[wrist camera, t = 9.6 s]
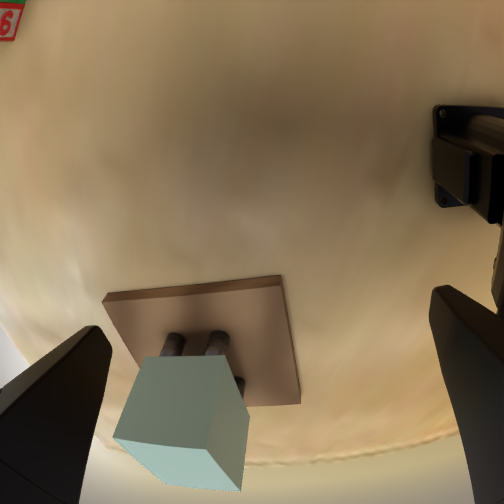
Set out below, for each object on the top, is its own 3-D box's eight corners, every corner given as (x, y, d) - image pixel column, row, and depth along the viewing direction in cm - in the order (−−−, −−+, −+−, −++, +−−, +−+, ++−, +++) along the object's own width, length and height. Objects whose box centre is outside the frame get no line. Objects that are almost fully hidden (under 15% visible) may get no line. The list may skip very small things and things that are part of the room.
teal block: (224, 354, 20) (205, 449, 14) (249, 416, 24) (240, 491, 18) (145, 356, 21) (112, 437, 15) (183, 415, 25) (165, 483, 19)
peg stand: (280, 275, 22) (279, 316, 18) (300, 393, 28) (300, 430, 24) (107, 293, 24) (84, 327, 20) (167, 396, 31) (157, 428, 27)
